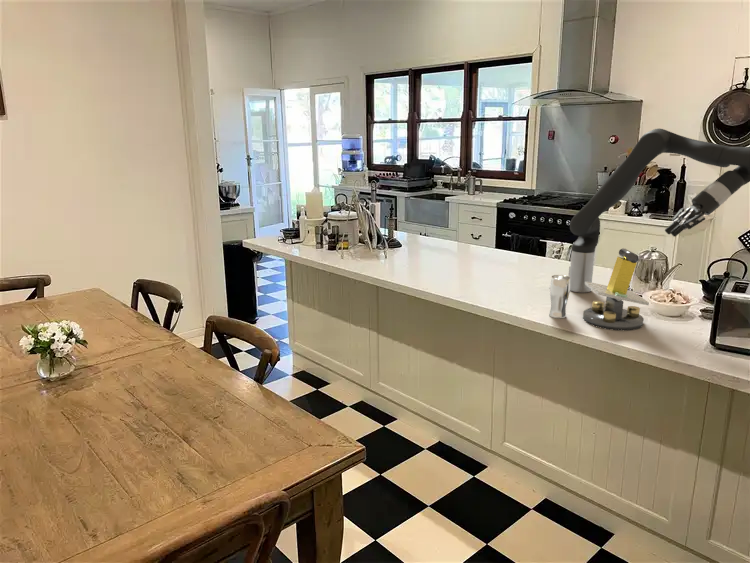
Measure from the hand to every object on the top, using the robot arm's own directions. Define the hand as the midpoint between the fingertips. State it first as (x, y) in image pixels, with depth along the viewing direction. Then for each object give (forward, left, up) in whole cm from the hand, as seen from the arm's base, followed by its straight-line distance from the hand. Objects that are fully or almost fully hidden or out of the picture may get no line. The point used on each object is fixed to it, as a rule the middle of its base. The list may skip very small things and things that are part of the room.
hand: (669, 233), depth 189 cm
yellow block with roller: (-5, -15, -22) cm, 27 cm away
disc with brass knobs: (-5, -15, -32) cm, 36 cm away
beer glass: (-15, -31, -32) cm, 47 cm away
